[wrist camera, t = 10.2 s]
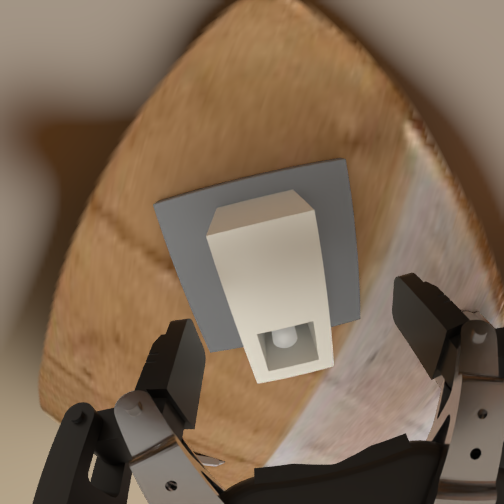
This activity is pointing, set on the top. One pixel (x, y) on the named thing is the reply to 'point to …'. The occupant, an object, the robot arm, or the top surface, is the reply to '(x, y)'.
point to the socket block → (274, 282)
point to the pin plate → (210, 198)
